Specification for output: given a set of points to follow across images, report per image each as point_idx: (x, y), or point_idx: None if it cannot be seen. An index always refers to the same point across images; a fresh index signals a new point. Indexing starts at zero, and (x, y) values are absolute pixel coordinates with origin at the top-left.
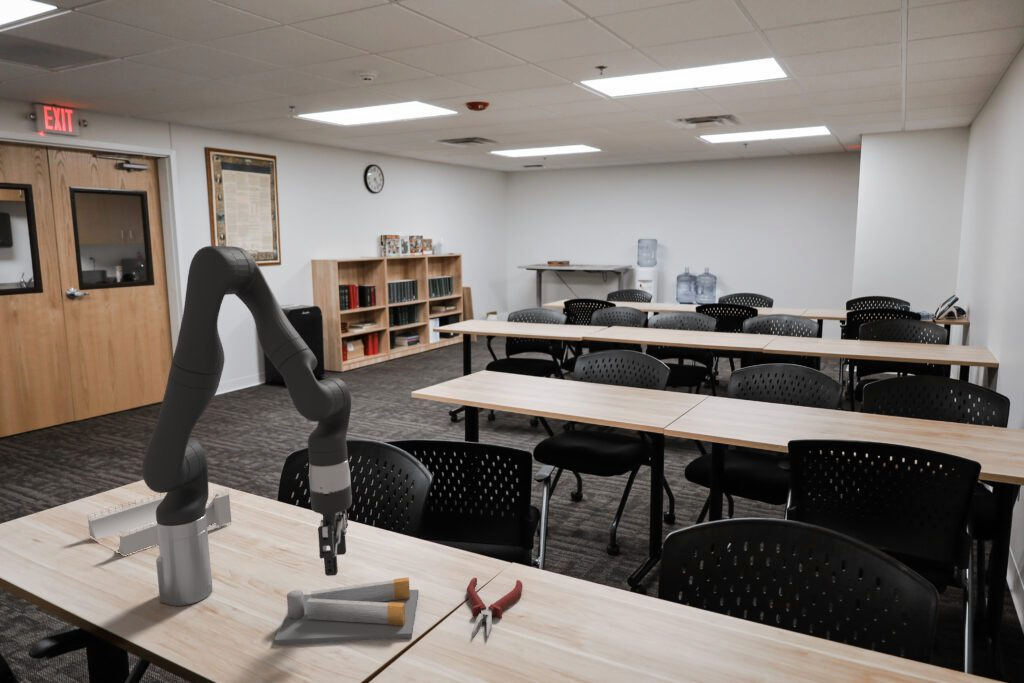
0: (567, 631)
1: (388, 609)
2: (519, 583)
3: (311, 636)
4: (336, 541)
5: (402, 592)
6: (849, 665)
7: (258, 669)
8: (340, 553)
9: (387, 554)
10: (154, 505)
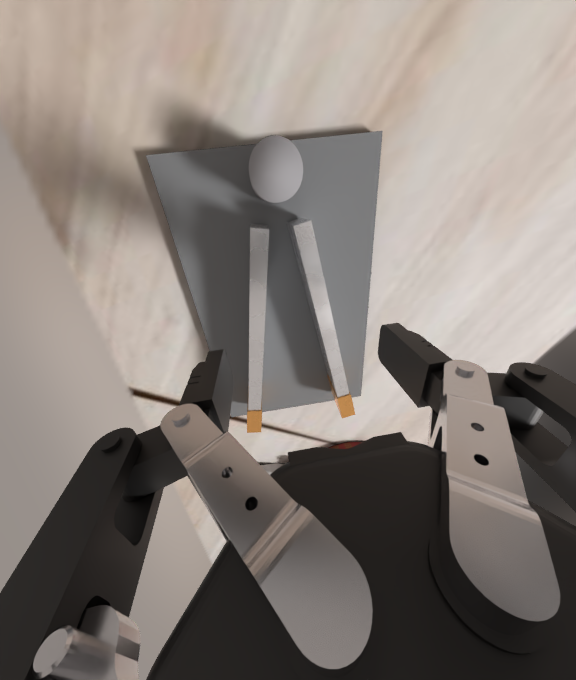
0: None
1: (247, 407)
2: None
3: (186, 258)
4: (215, 522)
5: (333, 393)
6: None
7: (39, 155)
8: (381, 343)
9: (525, 304)
10: None
